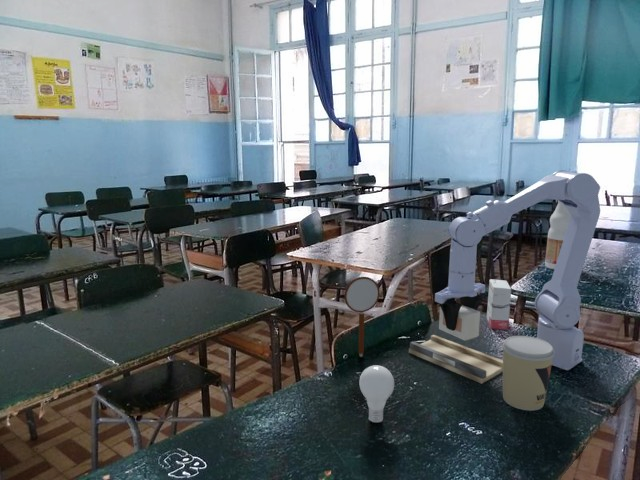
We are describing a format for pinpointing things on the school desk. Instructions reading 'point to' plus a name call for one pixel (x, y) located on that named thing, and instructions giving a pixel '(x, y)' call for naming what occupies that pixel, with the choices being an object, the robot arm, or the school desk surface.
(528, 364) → the cream lidded canister
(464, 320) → the carton
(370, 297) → the magnifying glass
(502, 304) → the ink box
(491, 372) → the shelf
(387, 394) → the lightbulb
